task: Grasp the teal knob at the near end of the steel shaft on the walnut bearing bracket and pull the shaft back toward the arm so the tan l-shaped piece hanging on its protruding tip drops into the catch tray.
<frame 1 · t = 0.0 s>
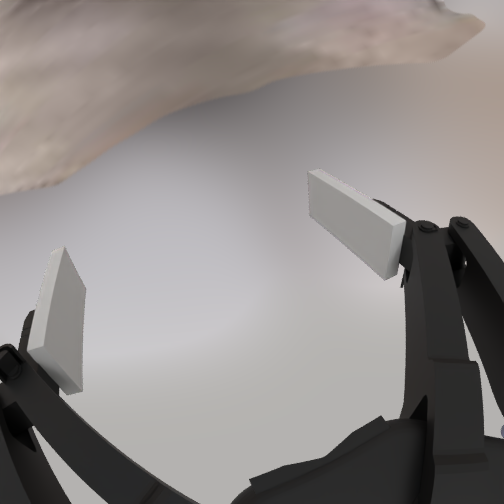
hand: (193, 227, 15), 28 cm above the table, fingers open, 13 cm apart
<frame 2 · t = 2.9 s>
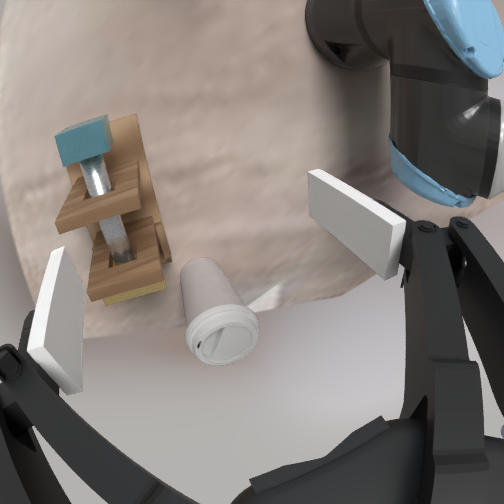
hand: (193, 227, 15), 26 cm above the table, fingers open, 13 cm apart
bracket: (116, 198, 38), on the table
coffee cup: (200, 274, 49), on the table
shaft: (108, 216, 30), point 9 cm above the table, slide at 0.0 cm, touching tan l-shaped piece
tan l-shaped piece: (131, 270, 35), point 8 cm above the table, touching shaft
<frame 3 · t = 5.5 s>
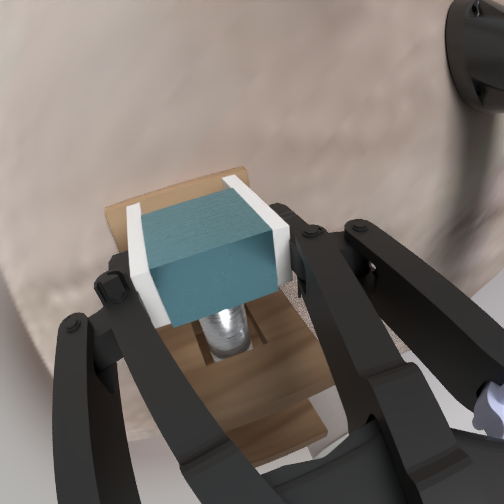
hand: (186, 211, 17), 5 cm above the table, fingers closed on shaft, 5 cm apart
bracket: (204, 293, 26), on the table
coffee cup: (297, 360, 37), on the table
shaft: (236, 363, 18), point 9 cm above the table, slide at 0.0 cm, touching gripper, tan l-shaped piece
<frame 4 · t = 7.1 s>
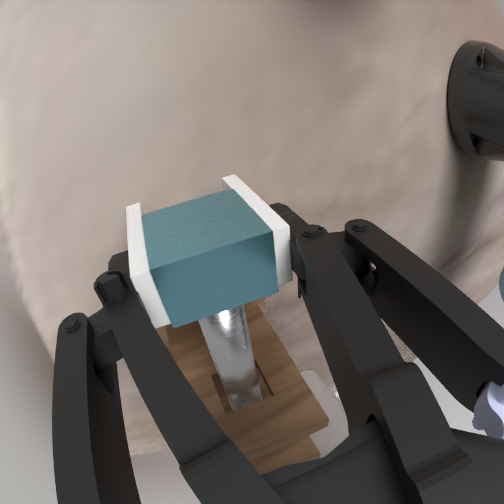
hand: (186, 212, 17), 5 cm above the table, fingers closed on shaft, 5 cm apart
bracket: (216, 337, 30), on the table
coffee cup: (295, 383, 41), on the table
shaft: (235, 364, 18), point 9 cm above the table, slide at 5.8 cm, touching gripper
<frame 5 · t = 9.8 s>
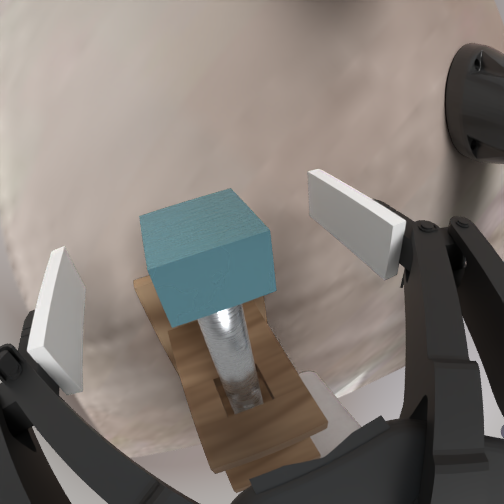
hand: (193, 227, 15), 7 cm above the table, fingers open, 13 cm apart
bracket: (217, 340, 30), on the table
coffee cup: (296, 384, 41), on the table
shaft: (234, 363, 18), point 9 cm above the table, slide at 6.4 cm
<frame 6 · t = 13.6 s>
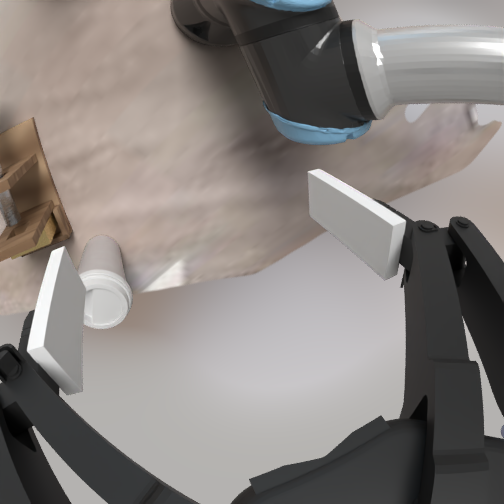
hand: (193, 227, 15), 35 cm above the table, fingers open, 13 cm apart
bracket: (25, 187, 39), on the table
coffee cup: (102, 251, 50), on the table
tan l-shaped piece: (32, 233, 38), point 5 cm above the table, touching bracket
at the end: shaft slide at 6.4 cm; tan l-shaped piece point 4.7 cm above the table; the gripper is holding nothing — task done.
